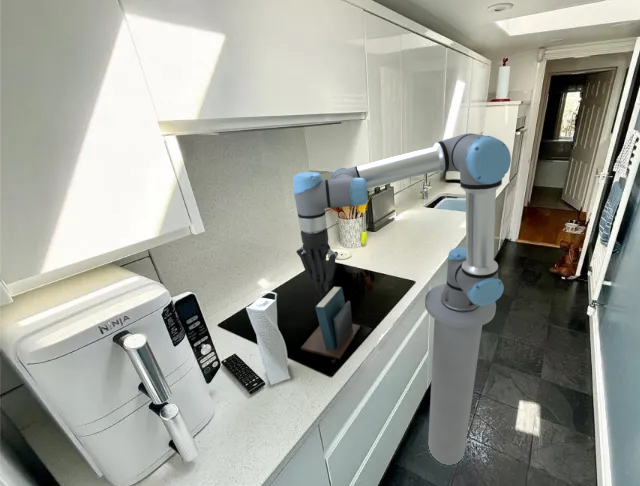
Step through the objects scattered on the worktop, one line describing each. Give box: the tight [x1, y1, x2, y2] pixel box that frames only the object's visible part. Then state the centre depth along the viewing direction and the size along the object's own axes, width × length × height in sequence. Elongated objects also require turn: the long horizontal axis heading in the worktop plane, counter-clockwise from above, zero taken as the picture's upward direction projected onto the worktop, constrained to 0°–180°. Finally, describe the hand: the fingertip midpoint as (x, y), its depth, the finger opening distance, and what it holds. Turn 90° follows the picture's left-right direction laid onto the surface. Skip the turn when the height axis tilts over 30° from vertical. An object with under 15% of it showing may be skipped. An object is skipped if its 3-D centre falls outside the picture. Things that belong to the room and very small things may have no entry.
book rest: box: [300, 300, 361, 360], centre depth 101 cm, size 14×16×13 cm
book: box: [314, 286, 346, 350], centre depth 100 cm, size 3×12×16 cm, turn 160°
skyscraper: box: [245, 290, 291, 386], centre depth 84 cm, size 8×8×28 cm
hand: (323, 298), depth 98 cm, fingers closed
